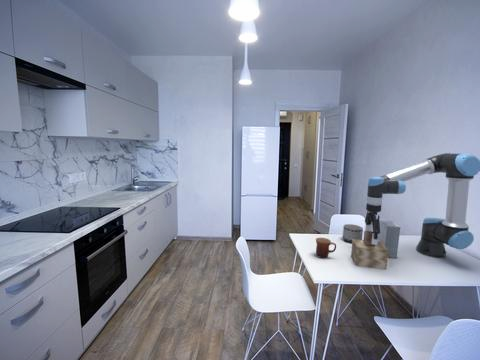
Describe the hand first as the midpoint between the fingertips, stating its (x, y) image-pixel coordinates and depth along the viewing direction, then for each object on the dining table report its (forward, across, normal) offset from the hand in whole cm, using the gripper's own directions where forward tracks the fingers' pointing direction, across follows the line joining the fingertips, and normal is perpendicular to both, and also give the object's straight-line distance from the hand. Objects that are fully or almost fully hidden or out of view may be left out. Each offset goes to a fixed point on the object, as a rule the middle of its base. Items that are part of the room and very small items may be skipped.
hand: (370, 239), depth 137 cm
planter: (+14, -33, -2) cm, 36 cm away
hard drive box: (+15, -18, +14) cm, 27 cm away
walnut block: (+3, 0, -1) cm, 3 cm away
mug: (+14, -1, -24) cm, 28 cm away
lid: (+4, 0, 0) cm, 4 cm away
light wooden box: (+14, 0, 0) cm, 14 cm away
